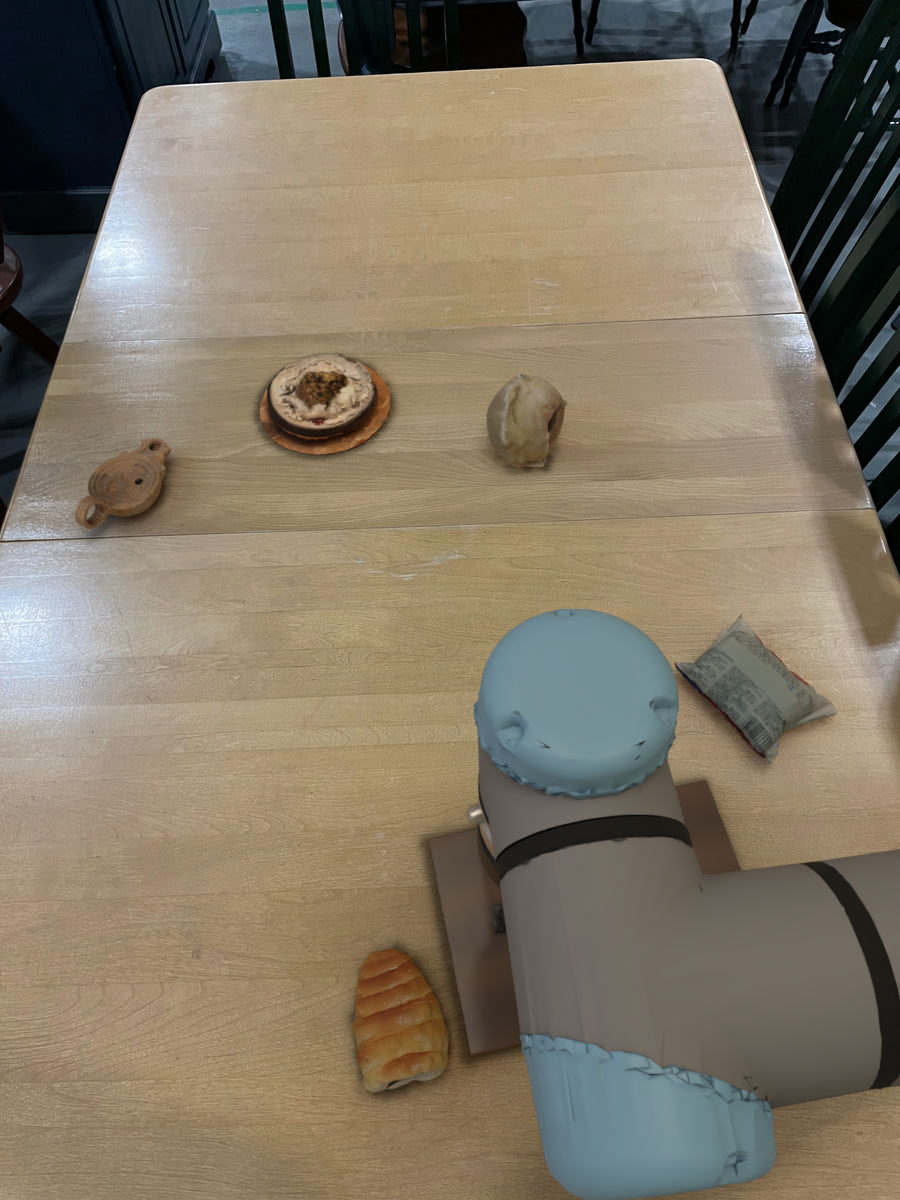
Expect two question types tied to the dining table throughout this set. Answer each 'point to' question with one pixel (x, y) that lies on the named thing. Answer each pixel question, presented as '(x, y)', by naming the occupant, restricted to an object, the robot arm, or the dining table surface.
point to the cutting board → (486, 951)
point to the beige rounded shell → (525, 420)
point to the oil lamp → (125, 484)
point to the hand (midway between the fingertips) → (528, 914)
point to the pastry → (397, 1023)
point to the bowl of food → (324, 404)
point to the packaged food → (754, 689)
